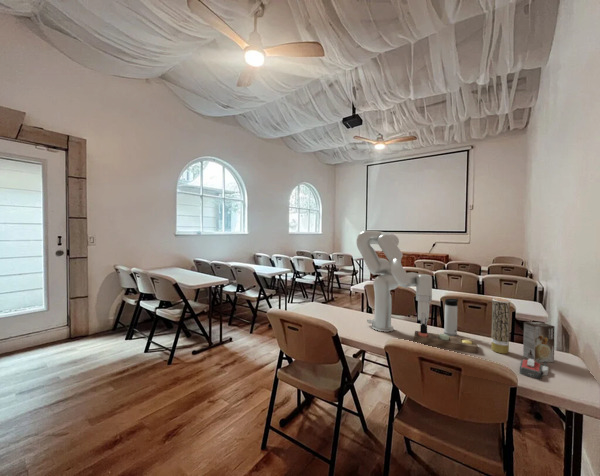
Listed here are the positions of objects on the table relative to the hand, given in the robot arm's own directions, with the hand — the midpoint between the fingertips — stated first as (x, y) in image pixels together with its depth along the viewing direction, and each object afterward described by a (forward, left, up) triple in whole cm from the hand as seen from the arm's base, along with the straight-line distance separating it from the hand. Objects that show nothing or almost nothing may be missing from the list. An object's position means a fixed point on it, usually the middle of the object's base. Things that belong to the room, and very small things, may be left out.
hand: (423, 332), depth 144 cm
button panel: (+10, 0, -4) cm, 10 cm away
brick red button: (0, 0, -3) cm, 3 cm away
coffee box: (+48, +1, -5) cm, 48 cm away
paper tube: (+34, +3, -5) cm, 34 cm away
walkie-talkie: (+42, -13, -5) cm, 45 cm away
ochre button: (+20, 0, -4) cm, 20 cm away
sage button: (+10, 0, -3) cm, 10 cm away
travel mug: (+14, +18, -5) cm, 23 cm away
